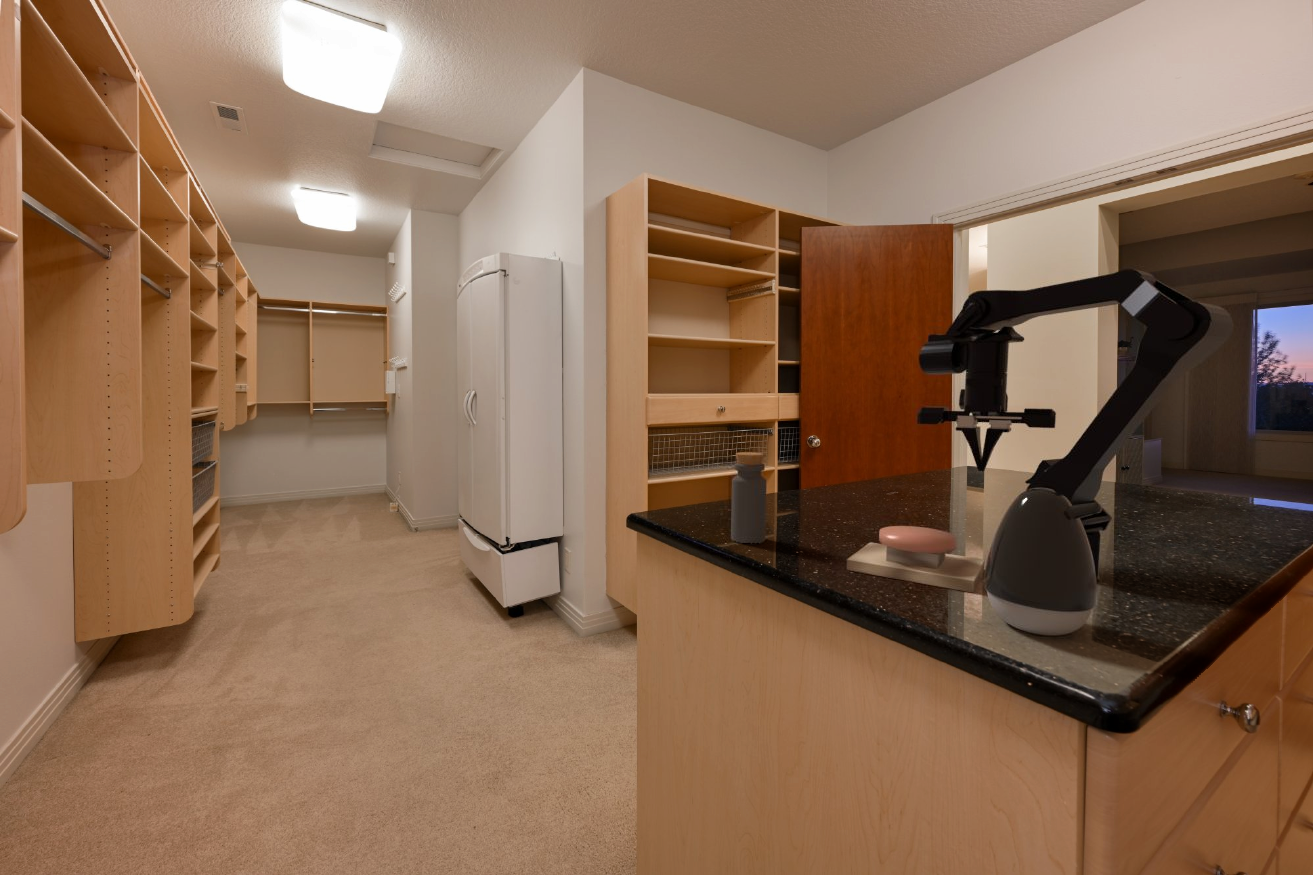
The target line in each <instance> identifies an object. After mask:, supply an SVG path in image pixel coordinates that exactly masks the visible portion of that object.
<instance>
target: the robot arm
mask: <svg viewBox="0 0 1313 875" xmlns="http://www.w3.org/2000/svg"><path fill="white" fill-rule="evenodd" d="M1115 305H1121V306H1122V307H1123V308H1124V309H1125V310H1126V312H1128V313H1129V314H1130V315H1131V316H1132V317H1133V318H1135V319H1136V320H1137V321H1139V322H1140V323H1142V324H1143V325H1144V326H1145V330H1144V332H1143V334H1141V335H1142V336H1141V338H1140V340H1139V342H1138V345H1137V346H1138V347H1137V349H1136V350H1137V352H1136V356H1135V361H1134V363H1133V366H1132V367H1131V369H1130V370H1129V371H1128V373H1126V376H1125V377H1124V378H1123V380H1122V381H1121V382H1120V383H1119V385H1118V386H1117V388H1116V389H1115V390H1114V392H1113V393H1112V395H1111V396H1110V397H1109V399H1108V400H1107V401H1106V403H1105V404H1104V405H1103V406H1102V407H1101V409H1100V410H1099V412H1098V413H1097V415H1095V417H1094V418H1093V420H1092V421H1091V422H1090V424H1089V425H1088V427H1087V428H1086V429H1085V430H1084V432H1083V433H1082V435H1081V436H1080V437H1079V439H1078V440H1077V441H1076V443H1075V444H1074V445H1073V446H1072V447H1071V449H1070V450H1069V452H1068V453H1067V454H1066V455H1065V456H1064V457H1063V458H1053V459H1052V458H1051V459H1043V460H1041V462H1040V463H1038V465H1037V467H1036V469H1035V472H1034V473H1033V475H1032V476H1031V477H1030V478H1029V479H1027V480H1025V482H1024V483H1025V484H1028V486H1027V487H1026V489H1025V491H1026V490H1029V489H1033V488H1049V489H1052V490H1055V491H1057V492H1059V493H1061V494H1063V495H1064V496H1065V497H1066V498H1067V499H1068V500H1069V501H1070V503H1071V504H1072V506H1073V505H1081V504H1088V503H1095V502H1097V503H1099V502H1098V501H1097V500H1096V497H1097V495H1098V493H1099V490H1100V489H1101V485H1102V479H1103V475H1104V471H1105V470H1106V468H1107V466H1108V465H1109V464H1110V463H1111V461H1113V459H1114V458H1115V456H1116V455H1117V454H1118V453H1119V452H1120V450H1121V449H1122V448H1123V447H1124V446H1125V445H1126V443H1127V442H1128V440H1129V439H1130V438H1131V437H1132V435H1133V434H1134V433H1135V431H1136V430H1137V429H1138V428H1139V426H1140V425H1141V424H1142V423H1143V422H1144V421H1145V419H1146V418H1147V417H1148V415H1149V414H1150V413H1151V411H1153V409H1154V408H1155V407H1156V406H1157V404H1158V403H1159V401H1160V400H1162V398H1164V397H1163V396H1164V395H1165V394H1166V392H1168V390H1169V389H1170V388H1171V387H1172V386H1173V385H1174V383H1175V382H1176V381H1177V380H1179V379H1180V378H1181V377H1182V376H1183V375H1185V374H1186V373H1188V372H1190V371H1191V370H1193V369H1194V368H1195V367H1197V366H1198V365H1200V364H1201V363H1203V362H1205V360H1207V359H1208V357H1210V356H1211V355H1212V354H1213V353H1214V352H1216V351H1217V350H1218V349H1219V348H1220V347H1221V346H1222V345H1223V344H1225V342H1227V341H1228V339H1229V338H1230V337H1231V335H1232V333H1233V332H1234V327H1235V324H1234V322H1233V319H1232V315H1230V313H1229V311H1227V310H1226V309H1225V308H1223V307H1221V306H1219V305H1215V304H1211V303H1205V302H1200V301H1195V300H1193V299H1192V298H1190V297H1189V296H1186V295H1184V294H1183V293H1182V292H1179V291H1178V290H1175V289H1174V288H1172V287H1170V286H1169V285H1167V284H1165V283H1163V282H1161V281H1160V280H1158V279H1156V278H1155V276H1154V275H1152V274H1151V273H1150V272H1146V271H1143V270H1139V269H1133V268H1123V269H1120V270H1118V271H1115V272H1113V273H1109V274H1103V275H1098V276H1092V277H1089V278H1088V277H1087V278H1081V279H1076V280H1073V281H1067V282H1062V283H1057V284H1056V283H1055V284H1051V285H1047V286H1041V287H1036V288H1030V289H1026V290H1025V289H1023V290H1022V289H1021V290H1011V289H1008V290H1007V289H1006V290H1005V289H991V290H990V289H987V290H977V291H973V292H972V293H971V294H969V295H968V296H967V298H966V300H965V301H964V303H963V305H962V309H961V310H960V311H959V313H958V315H957V316H956V317H955V319H954V320H953V321H952V323H951V325H950V326H949V328H948V330H947V331H946V332H945V333H944V334H937V333H935V334H929V335H928V336H927V342H926V343H924V344H923V346H922V348H921V350H920V353H918V364H919V367H920V369H921V371H922V372H923V373H924V374H926V375H949V374H950V375H953V374H954V375H955V374H962V373H965V379H964V380H965V381H964V382H965V383H964V384H965V385H964V388H961V389H960V392H959V399H958V407H959V408H960V410H950V407H949V406H921V408H919V409H918V410H917V415H916V417H917V419H916V421H917V422H916V424H918V425H939V424H945V423H946V422H956V427H955V431H957V432H958V431H959V432H962V434H963V436H964V437H965V440H966V441H967V443H968V446H969V448H970V451H971V453H972V456H973V459H974V463H975V465H976V468H977V471H978V472H985V471H986V468H987V465H988V464H989V461H990V458H991V456H992V453H993V451H994V450H995V446H996V444H997V443H998V442H999V439H1000V438H1001V436H1002V435H1003V433H1010V432H1011V431H1012V427H1011V426H1013V425H1012V424H1025V425H1026V426H1027V427H1028V428H1037V429H1038V428H1039V429H1041V428H1042V429H1045V428H1046V429H1055V428H1056V422H1057V420H1056V418H1057V412H1056V411H1055V410H1054V409H1053V408H1036V407H1034V408H1030V407H1029V408H1023V412H1022V411H1008V406H1009V405H1008V404H1009V403H1008V402H1009V397H1008V393H1007V388H1008V387H1007V386H1008V370H1009V368H1008V367H1009V366H1008V364H1009V346H1010V344H1012V343H1023V342H1024V341H1025V337H1024V336H1022V335H1021V334H1020V333H1018V332H1017V331H1016V330H1015V329H1014V327H1015V326H1019V325H1022V324H1024V323H1026V322H1028V321H1030V320H1032V319H1035V318H1038V317H1042V316H1050V315H1056V314H1062V313H1070V312H1076V311H1082V310H1089V309H1095V308H1102V307H1107V306H1115ZM979 423H989V424H988V425H990V427H987V428H986V431H985V436H984V443H983V448H982V443H981V442H982V440H981V426H978V424H979ZM1101 507H1102V505H1101ZM1080 520H1081V522H1082V525H1083V527H1084V530H1085V532H1086V535H1087V538H1088V541H1089V544H1090V548H1091V552H1092V556H1093V561H1094V566H1095V573H1096V582H1097V583H1100V580H1101V579H1100V574H1099V566H1100V548H1101V531H1106V530H1107V529H1108V527H1109V526H1110V524H1111V522H1112V520H1113V517H1112V515H1110V514H1109V513H1108V512H1107V510H1105V508H1103V507H1102V511H1101V512H1100V513H1095V514H1093V515H1089V516H1086V517H1082V518H1080Z"/></svg>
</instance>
